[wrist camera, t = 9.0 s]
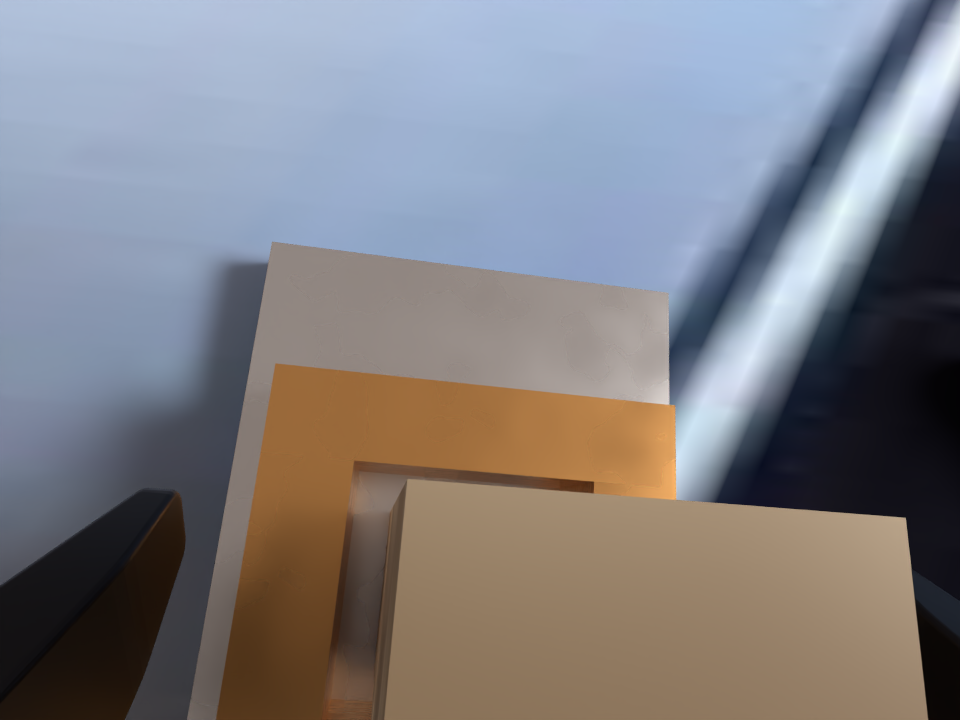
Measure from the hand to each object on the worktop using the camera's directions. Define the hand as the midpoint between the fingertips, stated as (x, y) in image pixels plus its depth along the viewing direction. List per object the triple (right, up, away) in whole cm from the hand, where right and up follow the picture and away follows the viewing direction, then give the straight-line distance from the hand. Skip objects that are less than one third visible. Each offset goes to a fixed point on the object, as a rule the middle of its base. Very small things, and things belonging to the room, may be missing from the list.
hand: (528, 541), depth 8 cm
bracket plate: (-2, -4, +9) cm, 10 cm away
